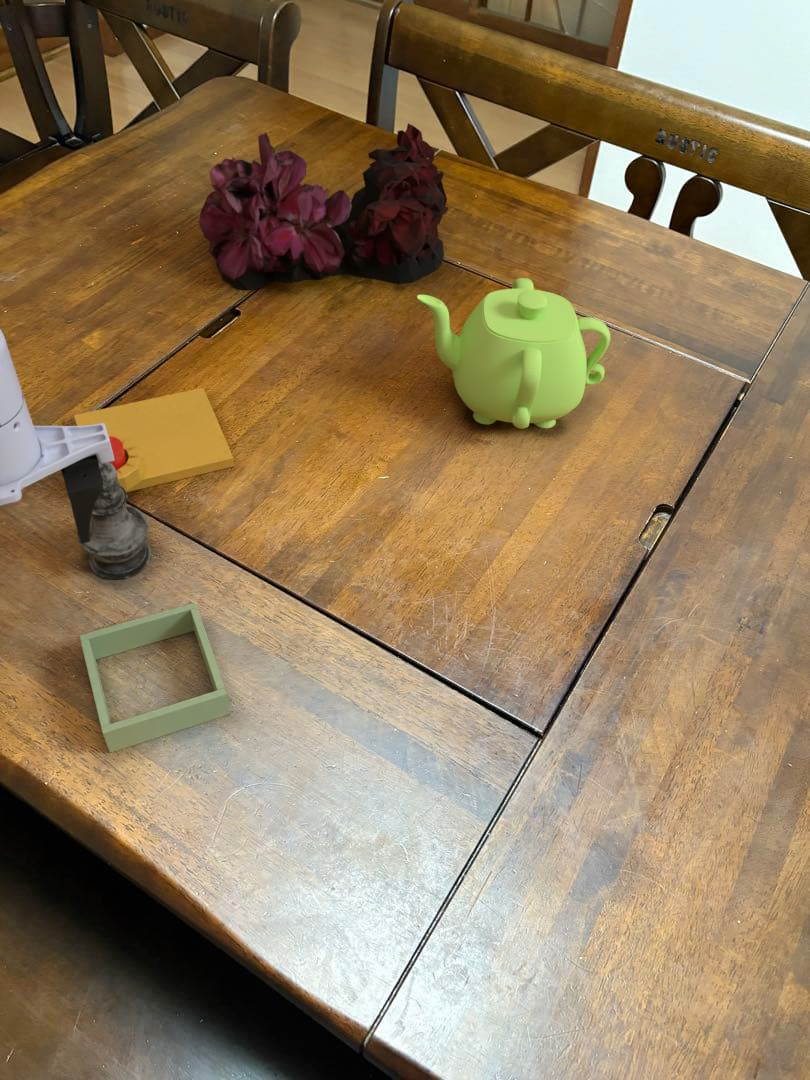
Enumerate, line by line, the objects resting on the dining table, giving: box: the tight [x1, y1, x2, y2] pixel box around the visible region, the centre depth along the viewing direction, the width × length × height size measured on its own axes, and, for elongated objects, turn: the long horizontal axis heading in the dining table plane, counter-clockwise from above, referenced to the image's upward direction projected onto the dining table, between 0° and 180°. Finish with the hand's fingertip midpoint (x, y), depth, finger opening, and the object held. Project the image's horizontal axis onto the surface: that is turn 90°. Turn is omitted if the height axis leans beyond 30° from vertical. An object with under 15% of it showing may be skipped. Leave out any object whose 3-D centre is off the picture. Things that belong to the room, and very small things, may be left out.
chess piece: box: [76, 462, 152, 581], centre depth 76 cm, size 6×6×12 cm
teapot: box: [416, 277, 611, 430], centre depth 92 cm, size 16×14×13 cm
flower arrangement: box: [198, 123, 450, 291], centre depth 108 cm, size 31×20×15 cm, turn 114°
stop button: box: [109, 436, 126, 470], centre depth 84 cm, size 3×3×2 cm
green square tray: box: [78, 602, 231, 754], centre depth 71 cm, size 9×9×3 cm
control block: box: [73, 387, 235, 493], centre depth 88 cm, size 14×12×3 cm
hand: (30, 546), depth 67 cm, fingers open, 7 cm apart
